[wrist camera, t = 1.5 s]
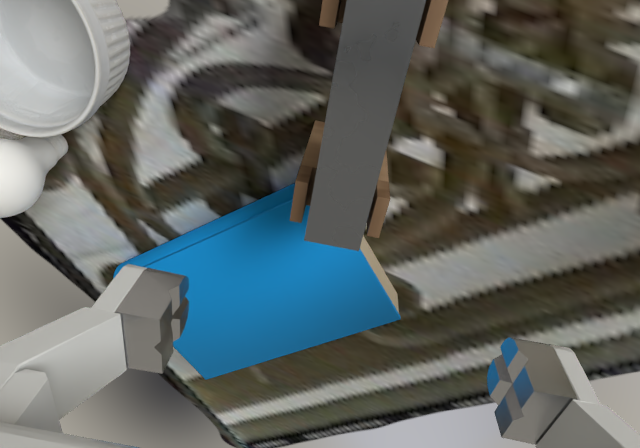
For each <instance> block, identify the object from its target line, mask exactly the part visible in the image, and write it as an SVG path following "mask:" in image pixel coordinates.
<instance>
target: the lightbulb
mask: <svg viewBox="0 0 640 448" xmlns="http://www.w3.org/2000/svg"><path fill="white" fill-rule="evenodd" d="M67 151H68V144H67V141H66V139H65V138H64V137H63V136H62V135H57V136H52V137H42V138H40V137H29V136H26V137H24V138H21V139H17V140H10V139H3V138H0V218H3V217H10V216H14V215H17V214H19V213H22V212H24V211H26V210H27V209H29V208H30V207H31V206H33V205H34V204H35V202H36V201H37V200H38V198H39V197H40V195H41V193H42V190H43V187H44V183H45V177H46V174H47V173H48V171H49V170H50V169H51V168H53V167H54V166H55V165H56V163H57V161H58V160H59V159H60V158H61V157H63V155H65V154H66V153H67Z"/></svg>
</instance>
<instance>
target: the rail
mask: <svg viewBox="0 0 640 448" xmlns="http://www.w3.org/2000/svg"><path fill="white" fill-rule="evenodd" d="M425 3H426V0H347V1H346V7H345V13H344V18H343V24H342V29H341V35H340V41H339V46H338V52H337V58H336V63H335V69H334V75H333V80H332V86H331V91H330V97H329V103H328V108H327V114H326V120H325V125H324V131H323V137H322V142H321V148H320V153H319V159H318V165H317V170H316V176H315V182H314V187H313V193H312V199H311V204H310V210H309V215H308V221H307V227H306V232H305V238H304V241H309V242H314V243H319V244H324V245H330V246H335V247H340V248H345V249H350V250H355V251H359V249H360V245H361V242H362V238H363V234H364V230H365V227H366V223H367V219H368V215H369V212H370V208H371V204H372V201H373V197H374V193H375V189H376V186H377V182H378V178H379V174H380V171H381V167H382V163H383V159H384V156H385V152H386V148H387V145H388V141H389V137H390V133H391V130H392V126H393V122H394V118H395V115H396V111H397V107H398V103H399V100H400V96H401V92H402V89H403V85H404V81H405V77H406V74H407V70H408V66H409V62H410V59H411V55H412V51H413V47H414V44H415V40H416V36H417V32H418V29H419V25H420V21H421V18H422V14H423V10H424V6H425Z"/></svg>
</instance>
